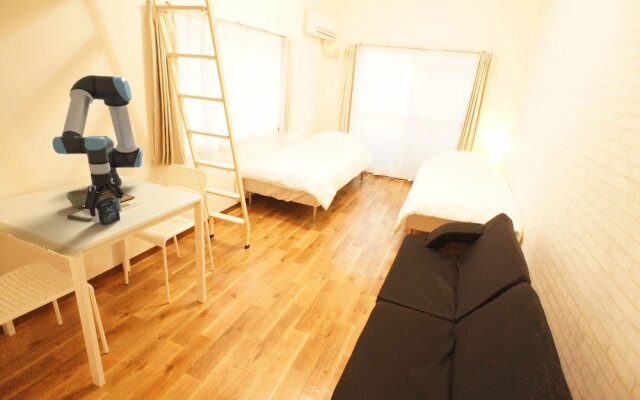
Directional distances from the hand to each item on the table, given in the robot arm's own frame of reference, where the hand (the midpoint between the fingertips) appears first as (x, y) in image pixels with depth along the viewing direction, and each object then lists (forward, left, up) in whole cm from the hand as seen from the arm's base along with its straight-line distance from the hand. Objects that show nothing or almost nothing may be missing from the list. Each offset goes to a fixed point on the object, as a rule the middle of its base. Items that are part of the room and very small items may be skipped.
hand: (108, 216), depth 153 cm
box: (0, 0, -2) cm, 2 cm away
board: (-3, -13, -2) cm, 14 cm away
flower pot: (-11, -25, -2) cm, 27 cm away
